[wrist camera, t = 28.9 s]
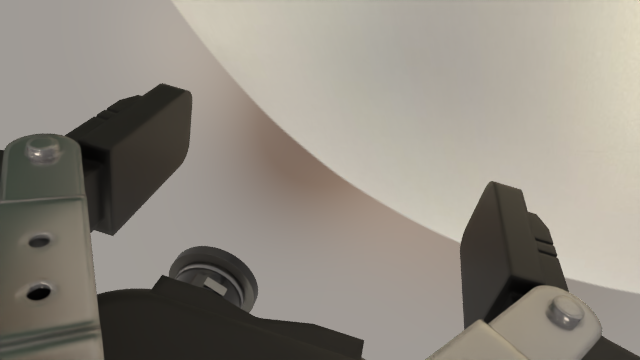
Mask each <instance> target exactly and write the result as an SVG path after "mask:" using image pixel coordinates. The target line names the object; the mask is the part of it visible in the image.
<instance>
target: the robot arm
mask: <svg viewBox="0 0 640 360" xmlns="http://www.w3.org/2000/svg"><path fill="white" fill-rule="evenodd" d="M191 111H192V95H191V93H190V92H189V91H187V90H184V89H180V88H177V87H173V86H170V85H166V84H163V83H162V84H159V85H158V86H157V87H155V88H154V89H152V90H151V91H149V92H148V93H146V94H145V95H143V96H139V95H137V96H133V97H129V98H126V99H122V100H119V101H118V102H116V103H115V104H113V105H111V106H110V107H108V108H107V110H104V111H102V112H101V113H99V114H97V116H96V117H93V118H91V119H90V120H88V121H87V122H85V123H83V124H82V125H80V126H79V127H78V128H76V129H74V130H73V131H71V132H69V133H68V134H66V135H65V136H62V135H57V134H35V135H29V136H24V137H21V138H19V139H16V140H14V141H13V142H11V143H9V144H8V145H7V146H6V148H5V150H0V360H365V359H363V358H362V357H361V355H362V349H363V344H364V340H361V339H358V338H355V337H352V336H349V335H346V334H343V333H340V332H337V331H334V330H330V329H327V328H324V327H321V326H318V325H315V324H309V323H299V322H290V321H280V320H271V319H262V318H258V317H255V316H253V315H251V314H249V313H248V312H246V311H244V310H243V309H241V308H242V306H243V304H244V301H245V293H244V290H243V287H242V285H241V283H240V282H239V281H238V279H237V278H236V277H235V276H234V275H233V274H232V273H230V272H229V271H228V270H226V269H225V268H223V267H221V266H219V265H216V264H213V263H209V262H192V263H189V264H187V265H185V266H184V267H183V268H182V269H181V270H180V271H179V273H178V274H177V276H176V278H175V279H173V278H170V277H167V276H164V275H162V276H161V277H160V279H159V280H158V281H157V283H156V284H155V285H154V287H153V288H152V289H123V290H115V291H110V292H105V293H101V294H97V292H96V283H95V273H94V264H93V254H92V244H91V235H90V233H91V232H92V231H93V230H96V231H99V232H102V233H105V234H108V235H112V236H113V235H114V234H115V233H116V232H117V231H118V230H119V229H120V228H121V227H122V226H123V225H124V224H125V223H126V222H127V221H128V220H129V219H130V218H131V216H132V215H134V213H135V212H136V211H137V210H138V209H139V208H140V207H141V206H142V205H143V204H144V203H145V202H146V201H147V200H148V199H149V198H150V197H151V196H152V195H153V194H154V192H155V191H156V190H157V189H158V188H159V187H160V186H161V185H162V184H163V183H164V182H165V181H166V180H167V179H168V178H169V177H170V176H171V175H172V174H173V173H174V172H175V171H176V169H178V167H179V166H180V165H181V164H182V163H183V161H184V159H185V157H186V154H187V152H188V148H189V141H190V140H189V139H190V126H191ZM556 257H557V253H556V250H555V247H554V246H553V241H552V238H551V235H550V232H549V229H548V228H547V227H546V225H545V224H544V223H543V222H542V220H541V219H540V218H539V217H538V216H537V214H534V213H530V212H528V211H527V207H526V204H525V200H524V196H523V193H522V191H521V190H520V189H517V188H514V187H510V186H507V185H503V184H500V183H497V182H493V181H491V182H489V183H488V185H487V186H486V188H485V190H484V192H483V194H482V196H481V198H480V200H479V202H478V204H477V206H476V208H475V210H474V212H473V214H472V216H471V218H470V220H469V222H468V224H467V226H466V229H465V231H464V234H463V237H462V241H461V246H460V259H461V276H462V294H463V312H464V331H462V332H461V333H460V334H459V335H457V336H456V337H454V338H453V339H452V340H451V341H449V342H448V343H447V344H445V345H444V346H443V347H441V348H440V349H439V350H437V351H436V352H435V353H433V354H432V355H431V356H429V357H428V358H427V359H425V360H640V357H639V356H637V355H635V354H633V353H632V352H630V351H628V350H626V349H624V348H622V347H621V346H619V345H617V344H615V343H613V342H611V341H610V340H608V339H606V338H604V337H603V336H602V327H601V323H600V321H599V319H598V318H597V316H596V314H595V313H594V312H593V311H592V310H591V309H590V307H589V306H588V305H586V304H585V303H584V302H583V301H581V300H580V299H579V298H577V297H576V296H574V295H573V294H571V293H569V291H568V288H567V284H566V281H565V278H564V275H563V272H562V269H561V266H560V263H559V260H558V258H556Z"/></svg>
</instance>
